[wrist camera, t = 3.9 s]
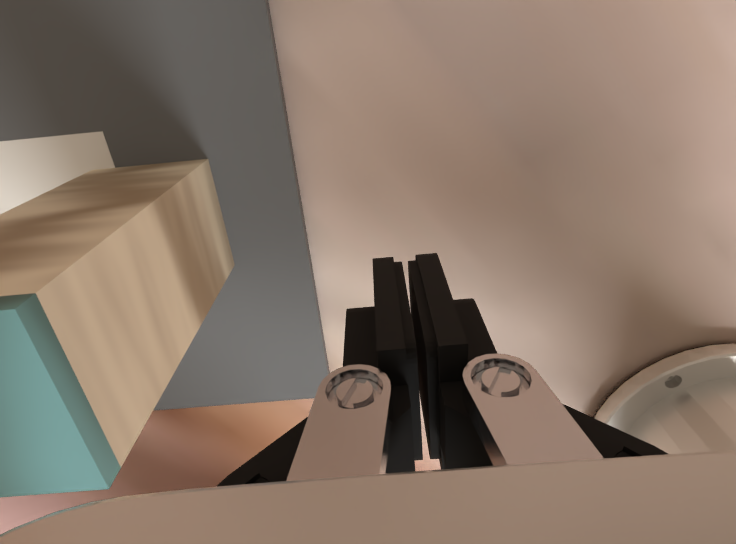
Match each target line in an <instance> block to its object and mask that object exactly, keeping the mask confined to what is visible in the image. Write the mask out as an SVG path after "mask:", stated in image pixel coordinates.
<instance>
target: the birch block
mask: <svg viewBox="0 0 736 544" xmlns="http://www.w3.org/2000/svg"><path fill="white" fill-rule="evenodd" d="M234 265H235V264H234V260H233V256H232V252H231V248H230V244H229V240H228V236H227V232H226V228H225V224H224V220H223V216H222V212H221V208H220V204H219V200H218V196H217V192H216V188H215V184H214V180H213V176H212V172H211V168H210V164H209V160H208V159H201V160H190V161H180V162H170V163H159V164H149V165H139V166H128V167H118V168H108V169H97V170H91V171H89V172H87V173H85V174H83V175H81V176H79V177H76V178H74V179H72V180H70V181H68V182H66V183H64V184H62V185H60V186H58V187H56V188H54V189H52V190H50V191H48V192H45V193H43V194H41V195H39V196H37V197H35V198H33V199H31V200H29V201H27V202H25V203H23V204H21V205H19V206H17V207H14V208H12V209H10V210H8V211H6V212H4V213H2V214H0V497H11V496H24V495H37V494H50V493H64V492H77V491H90V490H104V489H109V488H110V487H111V485H112V483H113V481H114V479H115V478H116V476H117V474H118V472H119V470H120V469H121V467H122V465H123V463H124V462H125V460H126V458H127V456H128V454H129V453H130V451H131V449H132V447H133V445H134V444H135V442H136V440H137V438H138V437H139V435H140V433H141V431H142V429H143V428H144V426H145V424H146V422H147V421H148V419H149V417H150V415H151V413H152V412H153V410H154V408H155V406H156V404H157V403H158V401H159V399H160V397H161V396H162V394H163V392H164V390H165V388H166V387H167V385H168V383H169V381H170V379H171V378H172V376H173V374H174V372H175V371H176V369H177V367H178V365H179V363H180V362H181V360H182V358H183V356H184V355H185V353H186V351H187V349H188V347H189V346H190V344H191V342H192V340H193V338H194V337H195V335H196V333H197V331H198V330H199V328H200V326H201V324H202V322H203V321H204V319H205V317H206V315H207V314H208V312H209V310H210V308H211V306H212V305H213V303H214V301H215V299H216V297H217V296H218V294H219V292H220V290H221V289H222V287H223V285H224V283H225V281H226V280H227V278H228V276H229V274H230V272H231V271H232V269H233V267H234Z"/></svg>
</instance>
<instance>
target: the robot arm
mask: <svg viewBox="0 0 736 544" xmlns="http://www.w3.org/2000/svg"><path fill="white" fill-rule="evenodd" d="M408 271H409V289H410V306H411V312H410V306H409V300H408V295H407V289H406V283H405V277H404V272H403V266H402V262H394V260H393V257H386V258H375V259H373V279H374V303H375V307H363V308H351V309H347V311H346V325H345V341H344V357H343V367H341V368H338V369H336V370H334V371H333V372H331V373H329V374H328V375H327V376H326V377H325V378H324V379H323V380H322V382H321V383H320V385H319V387H318V390H317V393H316V395H315V398H314V401H313V404H312V407H311V410H310V413H309V416H308V417H307V418H305V419H304V420H303V421H301V422H300V423H299V424H297V425H296V426H295V427H293V428H292V429H291V430H289V431H288V432H287V433H285V434H284V435H282V436H281V437H280V438H278V439H277V440H276V441H274V442H273V443H272V444H270V445H269V446H268V447H266V448H265V449H264V450H262V451H261V452H259V453H258V454H257V455H255V456H254V457H253V458H251V459H250V460H249V461H247V462H246V463H245V464H243V465H242V466H241V467H239V468H238V469H236V470H235V471H234V472H232V473H231V474H230V475H228V476H227V477H226V478H225V479H224V480H223V481H222V482H221V483H220V484H218V485H217V487H204V488H191V489H182V490H174V491H165V492H156V493H147V494H138V495H129V496H122V497H116V498H111V499H106V500H100V501H95V502H90V503H86V504H83V505H79V506H75V507H72V508H68V509H65V510H61V511H57V512H54V513H51V514H49V515H46V516H44V517H41V518H38V519H36V520H33V521H31V522H28V523H25V524H23V525H20V526H18V527H15V528H13V529H11V530H9V531H7V532H5V533H3V534H1V535H0V544H736V344H734V343H733V344H720V345H709V346H705V347H700V348H696V349H691V350H687V351H684V352H681V353H678V354H676V355H673V356H670V357H667V358H665V359H662V360H660V361H658V362H656V363H655V364H653V365H651V366H649V367H647V368H645V369H643V370H641V371H640V372H639V373H637V374H636V375H634V376H633V377H631V378H630V379H629V380H627V381H626V382H624V383H623V384H622V385H621V386H620V387H619V388H618V389H617V390H616V391H615V392H614V393H613V394H611V395H610V396H609V398H608V399H607V400H606V402H605V403H604V404H603V405H602V407H601V408H600V409H599V411H598V412H597V414H596V416H595V418H592V417H590V416H588V415H586V414H584V413H581V412H579V411H577V410H575V409H573V408H570V407H568V406H566V405H564V404H562V403H561V402H560V401H559V399H558V398H557V397H556V395H555V394H554V393H553V391H552V390H551V389H550V388H549V386H548V385H547V384H546V382H545V381H544V380H543V378H542V377H541V376H540V375H539V373H538V372H537V371H536V370H535V369H534V368H533V367H532V366H531V365H530V364H529V363H527V362H526V361H524V360H522V359H520V358H517V357H514V356H511V355H506V354H498V353H497V352H496V350H495V347H494V345H493V342H492V340H491V338H490V335H489V333H488V331H487V328H486V326H485V324H484V321H483V319H482V317H481V314H480V312H479V310H478V307H477V305H476V303H475V301H474V299H472V298H471V299H459V300H453V298H452V295H451V292H450V290H449V287H448V284H447V281H446V278H445V275H444V272H443V269H442V266H441V263H440V260H439V258H438V255H437V253H433V254H421V255H416V260H415V261H408ZM419 393H420V398H419ZM420 399H421V405H422V411H423V418H424V424H425V430H426V437H427V443H428V449H429V455H430V459H439V461H440V466H441V470H428V471H415V462H414V460H423V455H422V436H421V417H420Z"/></svg>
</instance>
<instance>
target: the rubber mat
mask: <svg viewBox="0 0 736 544" xmlns="http://www.w3.org/2000/svg"><path fill="white" fill-rule="evenodd" d="M201 159H208V160H209V164H210V168H211V172H212V176H213V180H214V184H215V188H216V192H217V196H218V200H219V204H220V208H221V212H222V216H223V220H224V224H225V228H226V232H227V236H228V240H229V244H230V248H231V252H232V256H233V260H234V264H235V265H234V267H233V269H232V271H231V272H230V274H229V276H228V278H227V280H226V281H225V283H224V285H223V287H222V289H221V290H220V292H219V294H218V296H217V297H216V299H215V301H214V303H213V305H212V306H211V308H210V310H209V312H208V314H207V315H206V317H205V319H204V321H203V322H202V324H201V326H200V328H199V330H198V331H197V333H196V335H195V337H194V338H193V340H192V342H191V344H190V346H189V347H188V349H187V351H186V353H185V355H184V356H183V358H182V360H181V362H180V363H179V365H178V367H177V369H176V371H175V372H174V374H173V376H172V378H171V379H170V381H169V383H168V385H167V387H166V388H165V390H164V392H163V394H162V396H161V397H160V399H159V401H158V403H157V404H156V406H155V408H154V410H166V409H179V408H192V407H205V406H218V405H231V404H244V403H257V402H270V401H283V400H296V399H309V398H315V395H316V393H317V390H318V387H319V385H320V383H321V382H322V380H323V379H324V378H325V377H326V376H327V375H328V374H329V373H330V372H329V366H328V360H327V354H326V348H325V342H324V336H323V330H322V324H321V318H320V312H319V306H318V300H317V294H316V288H315V282H314V276H313V270H312V263H311V257H310V251H309V245H308V239H307V233H306V227H305V221H304V215H303V209H302V203H301V197H300V191H299V185H298V179H297V173H296V167H295V161H294V155H293V149H292V143H291V136H290V130H289V124H288V118H287V112H286V106H285V100H284V94H283V88H282V82H281V76H280V70H279V64H278V58H277V52H276V46H275V40H274V34H273V28H272V22H271V16H270V9H269V3H268V0H0V214H2V213H4V212H6V211H8V210H10V209H12V208H14V207H17V206H19V205H21V204H23V203H25V202H27V201H29V200H31V199H33V198H35V197H37V196H39V195H41V194H43V193H45V192H48V191H50V190H52V189H54V188H56V187H58V186H60V185H62V184H64V183H66V182H68V181H70V180H72V179H74V178H76V177H79V176H81V175H83V174H85V173H87V172H89V171H91V170H97V169H108V168H118V167H128V166H139V165H149V164H159V163H170V162H180V161H190V160H201Z"/></svg>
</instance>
